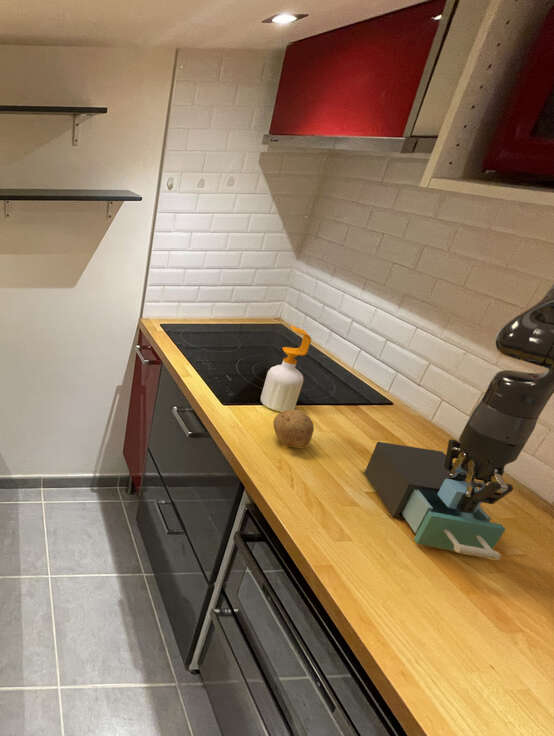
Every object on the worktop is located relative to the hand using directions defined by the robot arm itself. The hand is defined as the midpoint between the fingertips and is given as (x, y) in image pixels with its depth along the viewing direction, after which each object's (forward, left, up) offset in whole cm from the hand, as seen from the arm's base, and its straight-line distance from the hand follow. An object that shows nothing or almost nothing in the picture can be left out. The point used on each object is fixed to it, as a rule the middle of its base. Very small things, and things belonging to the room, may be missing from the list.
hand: (456, 502), depth 85 cm
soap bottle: (+19, -44, -9) cm, 49 cm away
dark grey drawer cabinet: (0, -10, -9) cm, 14 cm away
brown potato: (+21, -24, -9) cm, 34 cm away
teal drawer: (0, 0, -8) cm, 8 cm away
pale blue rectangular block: (0, 0, 0) cm, 0 cm away
